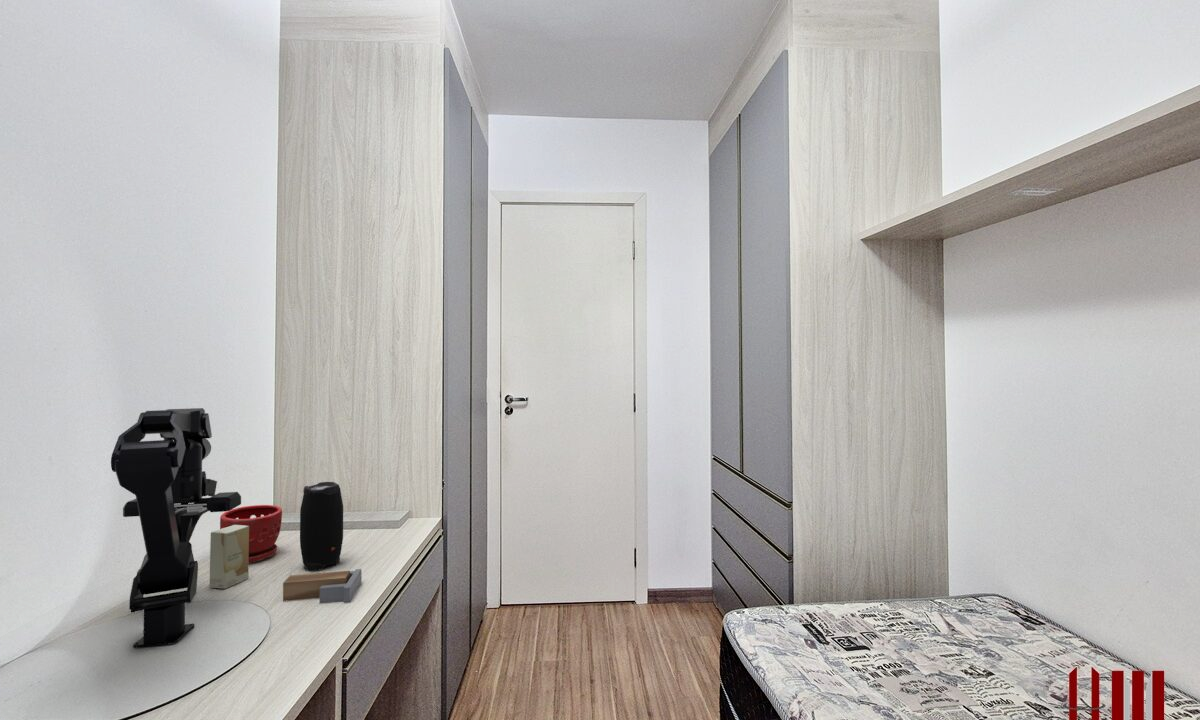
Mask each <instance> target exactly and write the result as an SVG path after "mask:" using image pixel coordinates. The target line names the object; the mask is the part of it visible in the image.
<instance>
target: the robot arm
mask: <svg viewBox="0 0 1200 720" xmlns="http://www.w3.org/2000/svg"><path fill="white" fill-rule="evenodd" d="M210 422H211V421H210V415H209V413H206V410H205V409H204V408H203V407H195V408H169V409H163V410H162V409H161V410H160V409H159V410H158V409H157V410H146V411H144V412H141V413H140V414H139V416H138V419H137V422H136V423H134V424H133V425H131V426H130V427H128V429H126V430H125V431H124V432H122V433H121V434H119V436H118V437H117V441H116V442H115V445H114V447H113V451H112V453H111V457H110V466H111V470H112V472H114V473H115V474H116V477H117V478H116V479H117V481H118V484H119V486H120V487H121V488H123V489H125V490H127V492H129V493H131V494H132V495H135V498H134V499H130V500H128V501H127V502H126V503H125V504H124V506H123V508H122V517H124V518H129V517H130V518H132V517H139V520H140V521H139V522H140V525H141V532H142V536H143V541H144V546H145V547H144V548H145V555H144V557H143V558H142V559H143V560H142V563H141V566H140V568H139V569H138V570H137V571H136V576H135V577H134V578H133V579H132V584H131V590H130V594H129V603H128V605H129V607H128V608H129V610H130V613H131V614H133V613H135V612H140V611H143V632H142V633H143V636H142V637H140V639H138V640H137V641H136V642H134V643H133V645H132V646H133V647H132V648H133V649H134V648H136V649H137V648H143V647H144V648H145V647H155V646H167V645H174V644H176V643H177V642H178V641H180V640H182V638H183V637H184V636H185V635H187V633H189V632H190V631H191V630H192V629H193V628H194V627H195V623H187V624H186V604H190V603H192V601H193V599H194V598H195V596H196V594H197V591H198V590H197V588H198V587H197V586H198V575H199V574H198V573H199V564H198V561H197V560H195V558H194V553H193V546H192V543H191V542H190V540H191V538H192V536H193V533H194V531H195V529H196V527H197V524H198V522H199V520H200V519H201V517H202V516H203V515H204V514H206V513H207V512H210V513H218V512H219V513H220V512H221V513H225V512H227V511H230V510H232V509H236V508H238V507H239V506H240V505H241V504H242V495H241V494H240V493H239V492H238V491H228V492H224V491H223V492H218V493H216V490H217V484H218V480H214V479H211V478H207V473H206V471H205V470H204V471H203V460H205V459H206V458H207V457H208V456H209V455H210V453H211V451H212V445H211V443H210V441H209V440H208V439H211V438H212V437H213V436H212V435H213V434H212V428H211V423H210ZM155 434H159V436H160V438H161V439H159V440H144V438H145V437H146V435H155ZM162 439H163V440H162ZM143 440H144V441H143ZM207 496H208V497H207ZM184 589H186V590H184ZM177 590H181V591H177ZM170 591H175V592H170ZM163 592H165V593H164V594H160V593H163ZM166 592H169V593H166ZM157 593H159V594H158V595H157ZM151 594H156V595H151ZM144 595H149V596H144ZM150 595H151V596H150Z"/></svg>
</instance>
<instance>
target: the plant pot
mask: <svg viewBox="0 0 1200 720" xmlns="http://www.w3.org/2000/svg"><path fill="white" fill-rule="evenodd" d="M252 516H255V517H252ZM282 518H283V508H281V507H280V506H278V505H272V504H259V505H257V504H256V505H247V506H241V507H235V508H233V509H232V510H230V511H225V512H222V513H221V515H220V518H219V530H220V529H222V528H226V527H229V526H232V525H245V526H249V564H251V563H256V562H260V561H263V560H266V559H269V558H270V557H272V556H273V555H274V554H276V552H277V550H278V545H277V544H276V542H277V540H278V537H279V535H280V532H281V527H282V521H283V520H282Z"/></svg>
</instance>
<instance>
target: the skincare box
mask: <svg viewBox="0 0 1200 720" xmlns="http://www.w3.org/2000/svg"><path fill="white" fill-rule="evenodd" d="M209 551H210V552H209V553H210V555H209V560H210V561H209V588H216V589H223V590H224V589H225V590H226V589H228V588H231V587H232V586H234V585H236V584H239V583H241V582H243V581H246V580H247V579H249V564H250V563H249V526H245V525H232V526H229V527H226V528H222V529H220V528H219V529H217V530H214V531H211V532H210V549H209Z"/></svg>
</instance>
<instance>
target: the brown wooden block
mask: <svg viewBox="0 0 1200 720" xmlns="http://www.w3.org/2000/svg"><path fill="white" fill-rule="evenodd" d="M350 571H351V570H342V571H341V570H340V571H329V572H326V571H325V572H316V573H307V574H305V573H304V574H302V573H301V574H291V575H289V576H288V577H287V578H286V579H285V580H284V581H283V582H282V601H283V602H287V601H289V602H291V601H297V600H299V601H300V600H310V599H320V587H321V586H323V585H335V584H347V582H348V581H349V579H350Z"/></svg>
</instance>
